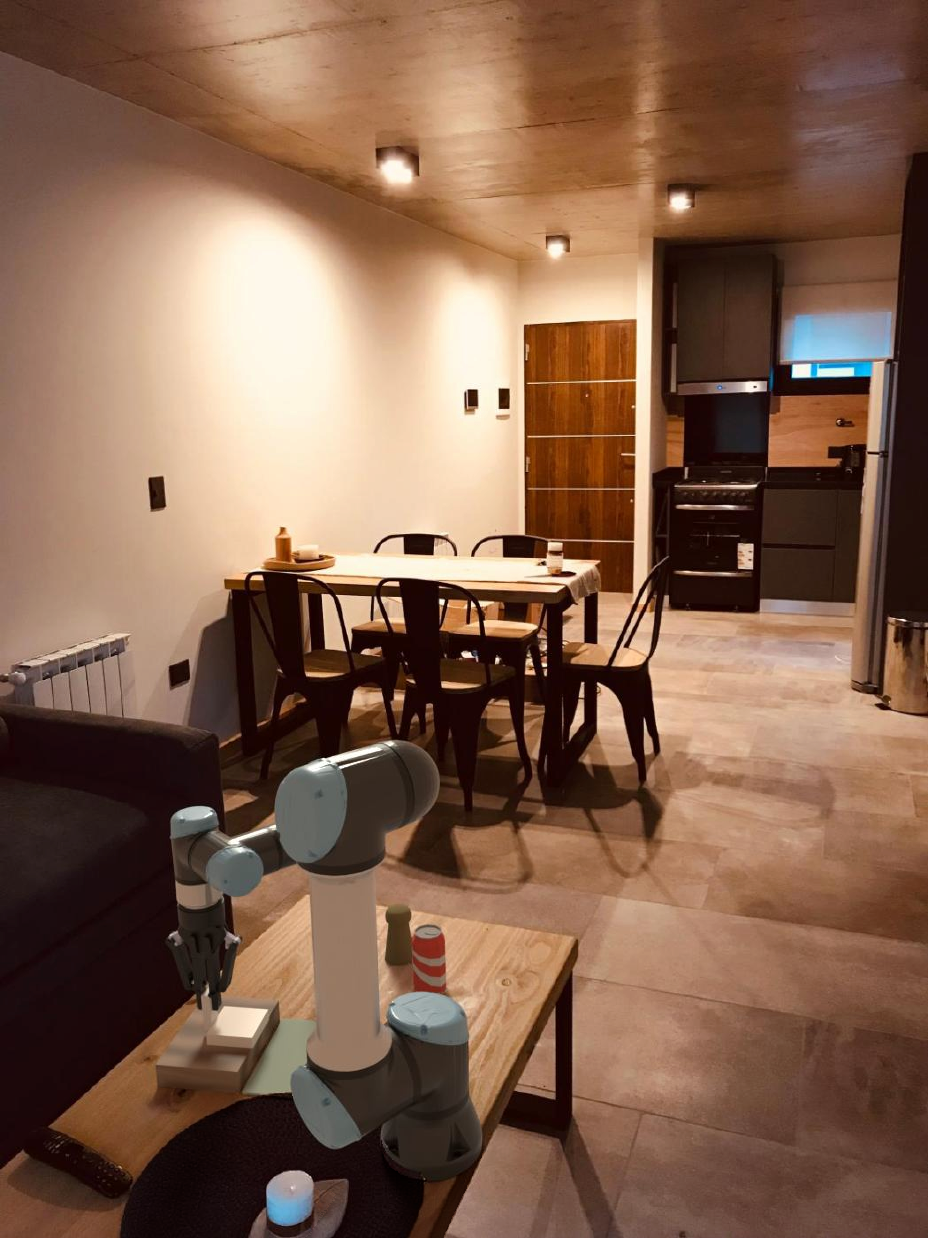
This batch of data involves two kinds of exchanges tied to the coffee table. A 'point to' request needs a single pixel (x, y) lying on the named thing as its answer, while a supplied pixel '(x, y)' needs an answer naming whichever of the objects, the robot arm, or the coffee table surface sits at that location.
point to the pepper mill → (398, 935)
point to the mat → (281, 1058)
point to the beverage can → (429, 959)
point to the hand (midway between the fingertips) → (211, 1025)
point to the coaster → (237, 1027)
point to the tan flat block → (213, 1053)
